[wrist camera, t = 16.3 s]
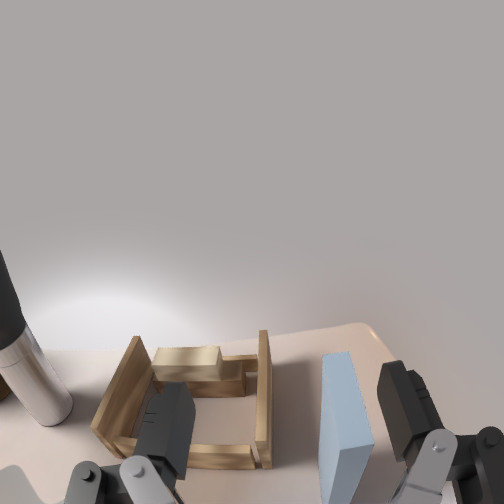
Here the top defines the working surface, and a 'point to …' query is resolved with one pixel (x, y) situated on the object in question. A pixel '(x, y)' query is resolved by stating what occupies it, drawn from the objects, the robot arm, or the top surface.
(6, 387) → the wooden container
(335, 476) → the panel
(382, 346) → the top surface
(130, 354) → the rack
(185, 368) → the offcut stack
